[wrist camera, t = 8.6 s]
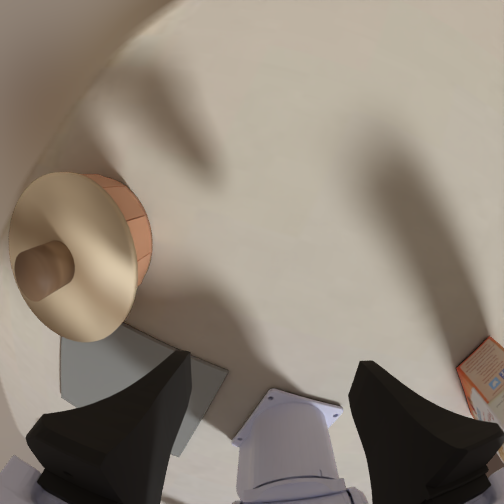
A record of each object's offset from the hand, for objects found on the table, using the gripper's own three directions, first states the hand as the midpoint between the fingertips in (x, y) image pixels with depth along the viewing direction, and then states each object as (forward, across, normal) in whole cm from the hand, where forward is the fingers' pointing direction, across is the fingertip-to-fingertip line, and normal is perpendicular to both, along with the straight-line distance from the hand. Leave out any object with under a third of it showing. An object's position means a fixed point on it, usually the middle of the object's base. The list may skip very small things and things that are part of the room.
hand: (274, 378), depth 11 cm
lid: (+5, +14, -2) cm, 15 cm away
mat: (+10, +13, +12) cm, 20 cm away
